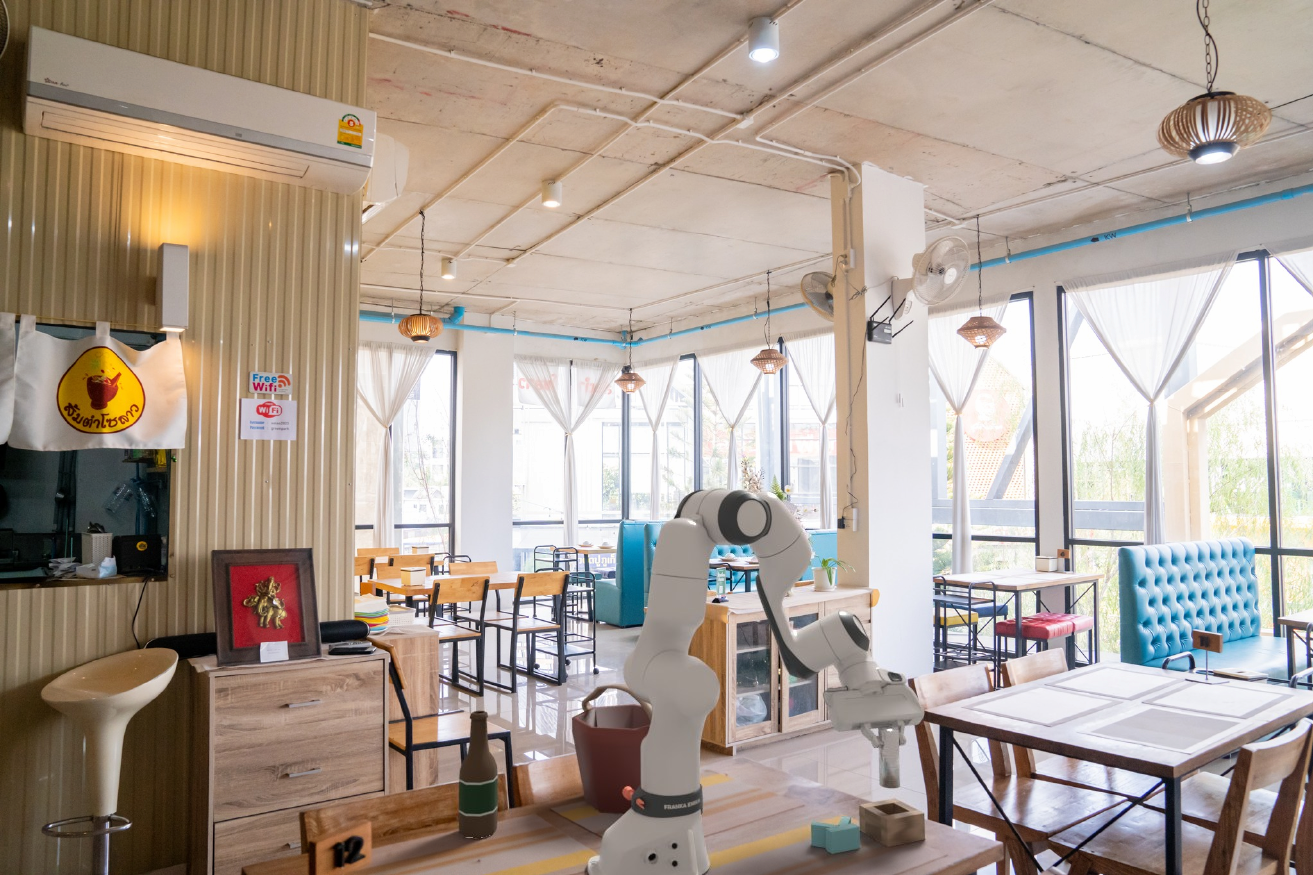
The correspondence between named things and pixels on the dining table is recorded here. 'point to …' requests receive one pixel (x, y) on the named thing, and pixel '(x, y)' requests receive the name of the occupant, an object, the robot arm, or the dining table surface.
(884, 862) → the dining table surface
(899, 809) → the walnut block
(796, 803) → the dining table surface
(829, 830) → the teal V-block
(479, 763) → the beer bottle
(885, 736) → the steel axle
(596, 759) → the bucket
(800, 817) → the dining table surface
